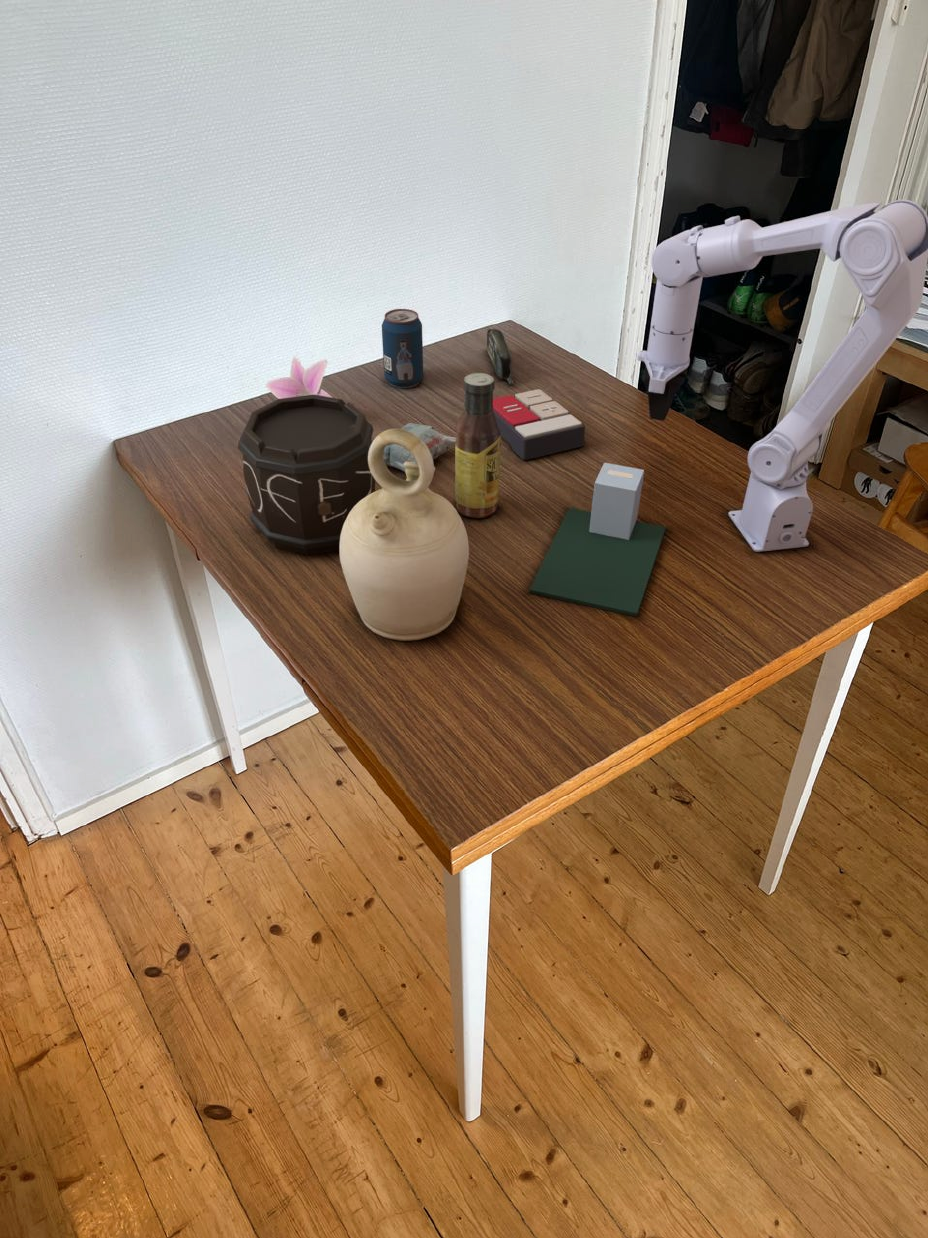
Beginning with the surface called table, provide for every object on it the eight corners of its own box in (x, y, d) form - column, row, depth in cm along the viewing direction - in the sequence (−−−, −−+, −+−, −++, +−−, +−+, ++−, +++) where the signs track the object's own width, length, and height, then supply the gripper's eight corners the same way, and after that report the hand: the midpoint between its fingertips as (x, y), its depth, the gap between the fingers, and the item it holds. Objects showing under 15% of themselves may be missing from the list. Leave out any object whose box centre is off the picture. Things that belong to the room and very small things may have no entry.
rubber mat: (568, 511, 133) (568, 507, 133) (665, 530, 129) (665, 526, 129) (528, 592, 119) (529, 589, 118) (636, 617, 115) (637, 613, 115)
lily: (268, 411, 158) (247, 377, 149) (324, 372, 159) (307, 336, 150) (304, 457, 153) (285, 425, 144) (362, 416, 154) (346, 382, 145)
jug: (402, 557, 124) (394, 385, 108) (493, 604, 117) (498, 427, 101) (320, 614, 115) (297, 436, 99) (412, 668, 108) (404, 485, 92)
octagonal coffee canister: (260, 571, 122) (242, 467, 112) (245, 499, 135) (228, 400, 125) (393, 549, 126) (388, 447, 116) (366, 481, 139) (359, 384, 129)
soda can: (407, 368, 168) (405, 303, 160) (431, 382, 164) (430, 316, 156) (376, 379, 165) (372, 313, 157) (399, 393, 161) (397, 326, 153)
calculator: (540, 385, 155) (586, 421, 144) (539, 409, 158) (585, 446, 147) (481, 398, 151) (524, 435, 141) (481, 422, 154) (523, 460, 143)
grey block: (604, 461, 127) (594, 482, 123) (644, 469, 125) (636, 490, 121) (598, 510, 132) (589, 532, 128) (637, 518, 131) (628, 540, 127)
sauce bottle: (494, 522, 131) (498, 393, 118) (450, 517, 132) (450, 388, 119) (501, 498, 136) (506, 371, 123) (460, 493, 136) (460, 367, 124)
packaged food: (458, 454, 145) (458, 426, 142) (412, 487, 137) (411, 458, 134) (414, 439, 149) (412, 411, 146) (367, 470, 141) (365, 442, 138)
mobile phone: (484, 326, 171) (500, 359, 159) (500, 325, 171) (518, 358, 160) (484, 352, 174) (500, 386, 162) (500, 351, 174) (517, 385, 163)
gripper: (652, 302, 130) (640, 391, 139) (631, 343, 120) (619, 436, 129) (703, 309, 128) (687, 398, 137) (686, 351, 118) (670, 445, 127)
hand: (657, 417), depth 133 cm, fingers closed
